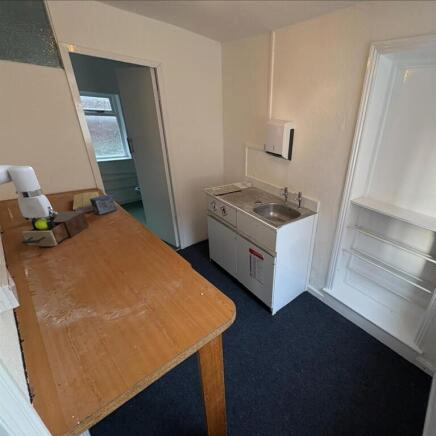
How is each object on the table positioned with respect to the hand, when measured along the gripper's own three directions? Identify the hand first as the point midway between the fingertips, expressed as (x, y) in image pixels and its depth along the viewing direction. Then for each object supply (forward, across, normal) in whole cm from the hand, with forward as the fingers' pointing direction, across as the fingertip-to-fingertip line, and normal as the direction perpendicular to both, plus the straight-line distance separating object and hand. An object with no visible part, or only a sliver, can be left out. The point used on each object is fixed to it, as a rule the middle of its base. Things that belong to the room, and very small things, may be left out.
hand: (45, 228), depth 114 cm
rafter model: (+8, -15, +57) cm, 59 cm away
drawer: (+7, 0, -1) cm, 7 cm away
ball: (+1, 0, 0) cm, 1 cm away
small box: (+8, +4, +41) cm, 42 cm away
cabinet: (+8, 0, +12) cm, 14 cm away
